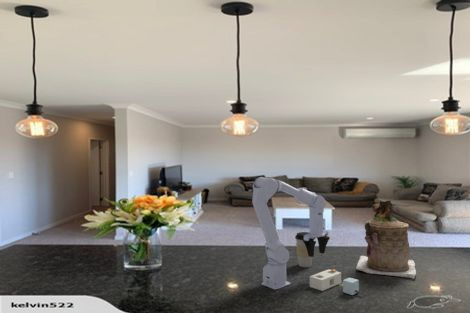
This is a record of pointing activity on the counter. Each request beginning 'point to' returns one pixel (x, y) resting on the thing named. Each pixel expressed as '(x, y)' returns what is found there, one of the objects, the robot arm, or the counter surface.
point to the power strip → (325, 279)
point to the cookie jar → (386, 245)
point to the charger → (351, 286)
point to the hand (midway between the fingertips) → (316, 254)
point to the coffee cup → (302, 250)
